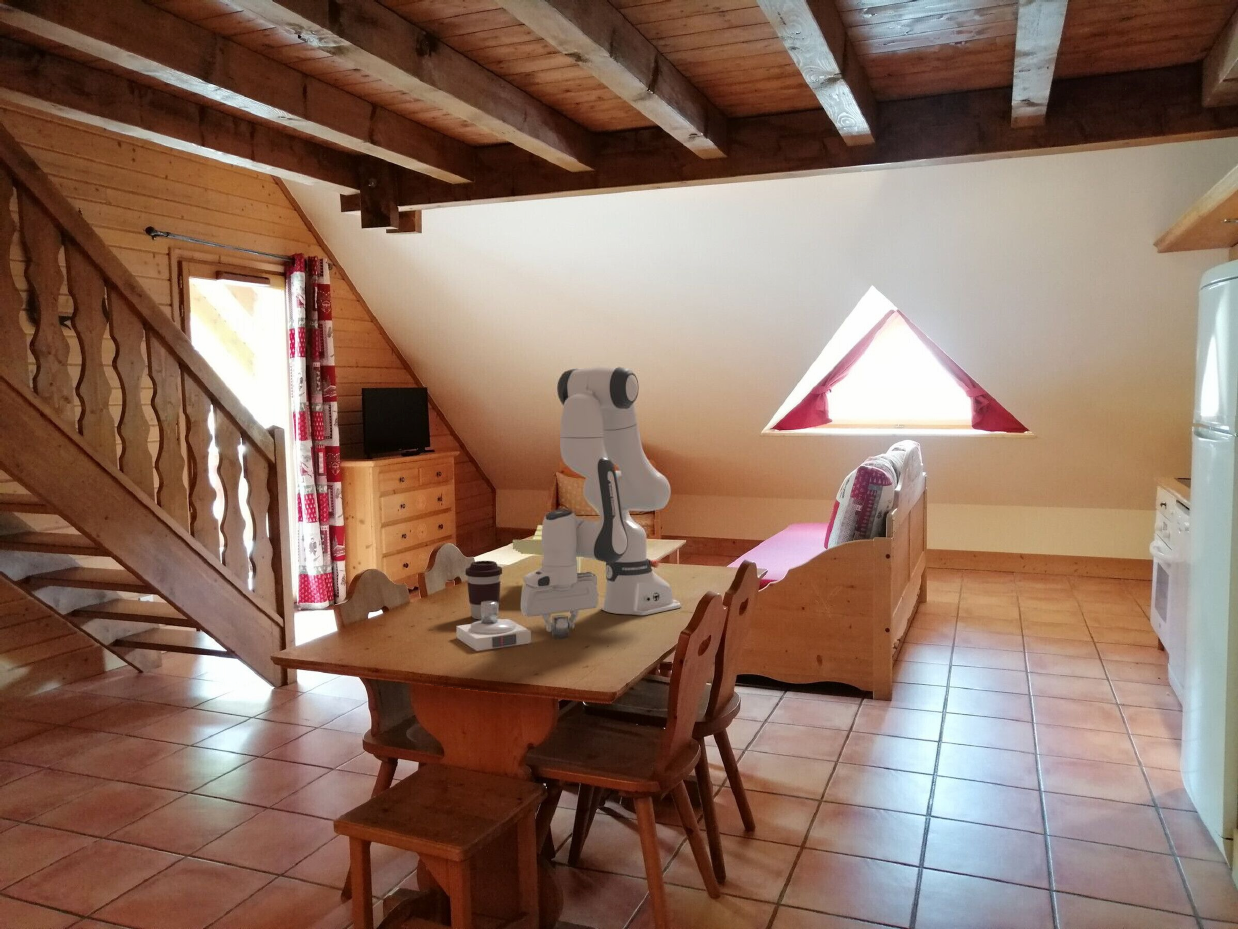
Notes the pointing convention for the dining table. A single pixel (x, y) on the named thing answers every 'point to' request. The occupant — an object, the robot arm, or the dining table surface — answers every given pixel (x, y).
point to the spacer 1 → (489, 612)
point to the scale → (493, 634)
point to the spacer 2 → (560, 626)
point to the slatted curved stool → (535, 547)
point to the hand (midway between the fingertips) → (560, 629)
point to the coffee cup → (483, 585)
